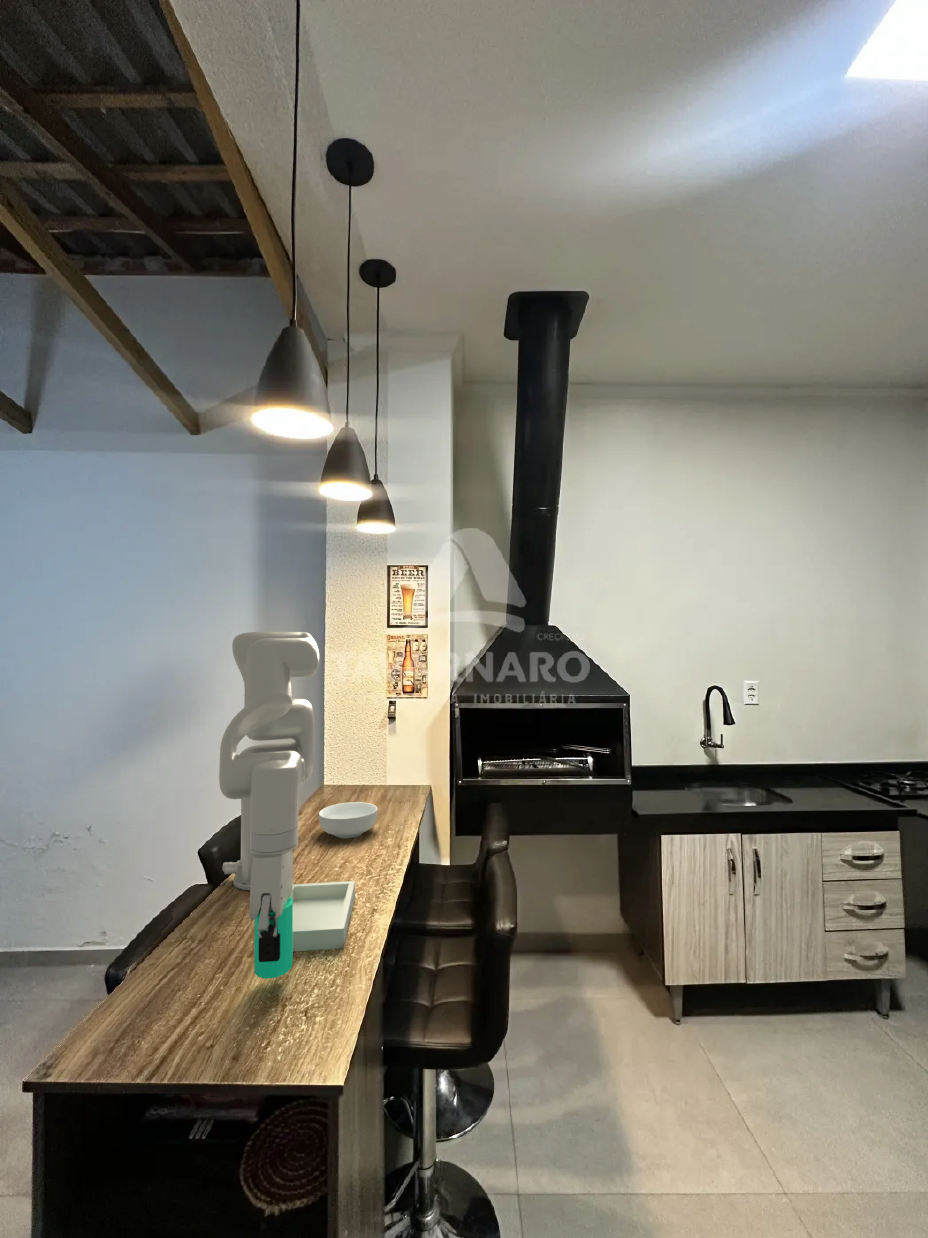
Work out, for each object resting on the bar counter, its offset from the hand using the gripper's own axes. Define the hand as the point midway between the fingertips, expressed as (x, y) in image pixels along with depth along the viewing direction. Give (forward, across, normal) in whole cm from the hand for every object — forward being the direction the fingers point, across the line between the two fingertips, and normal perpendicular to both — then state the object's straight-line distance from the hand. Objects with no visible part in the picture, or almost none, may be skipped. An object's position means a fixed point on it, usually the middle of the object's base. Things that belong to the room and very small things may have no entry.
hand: (273, 949), depth 88 cm
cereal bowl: (+7, -70, +4) cm, 71 cm away
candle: (+3, 0, 0) cm, 3 cm away
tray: (+6, -19, +3) cm, 20 cm away
